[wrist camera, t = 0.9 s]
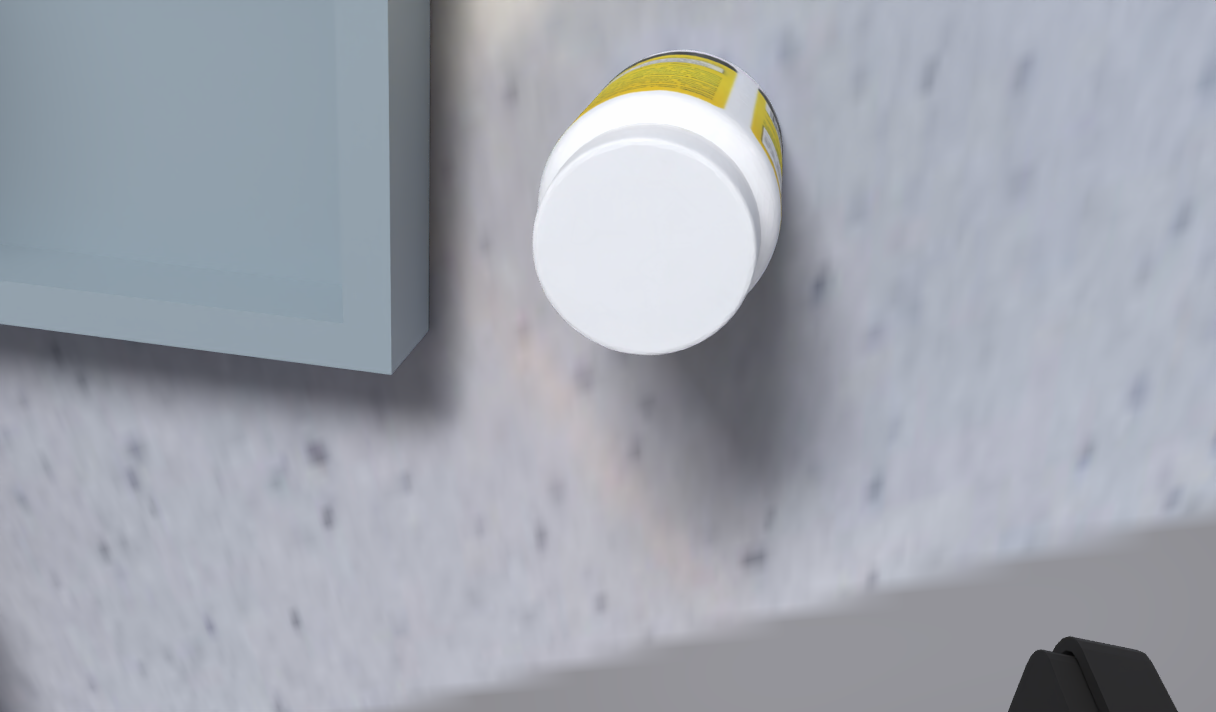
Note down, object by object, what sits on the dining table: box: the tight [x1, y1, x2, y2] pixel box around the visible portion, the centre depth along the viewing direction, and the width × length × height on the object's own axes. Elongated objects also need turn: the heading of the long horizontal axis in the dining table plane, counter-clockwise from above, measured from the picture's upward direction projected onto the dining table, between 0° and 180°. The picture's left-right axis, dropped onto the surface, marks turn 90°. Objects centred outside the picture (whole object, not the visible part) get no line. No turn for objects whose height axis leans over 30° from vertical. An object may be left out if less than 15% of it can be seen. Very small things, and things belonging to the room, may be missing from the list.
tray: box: [0, 0, 430, 375], centre depth 27 cm, size 15×13×3 cm
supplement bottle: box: [532, 50, 783, 355], centre depth 23 cm, size 5×5×8 cm
